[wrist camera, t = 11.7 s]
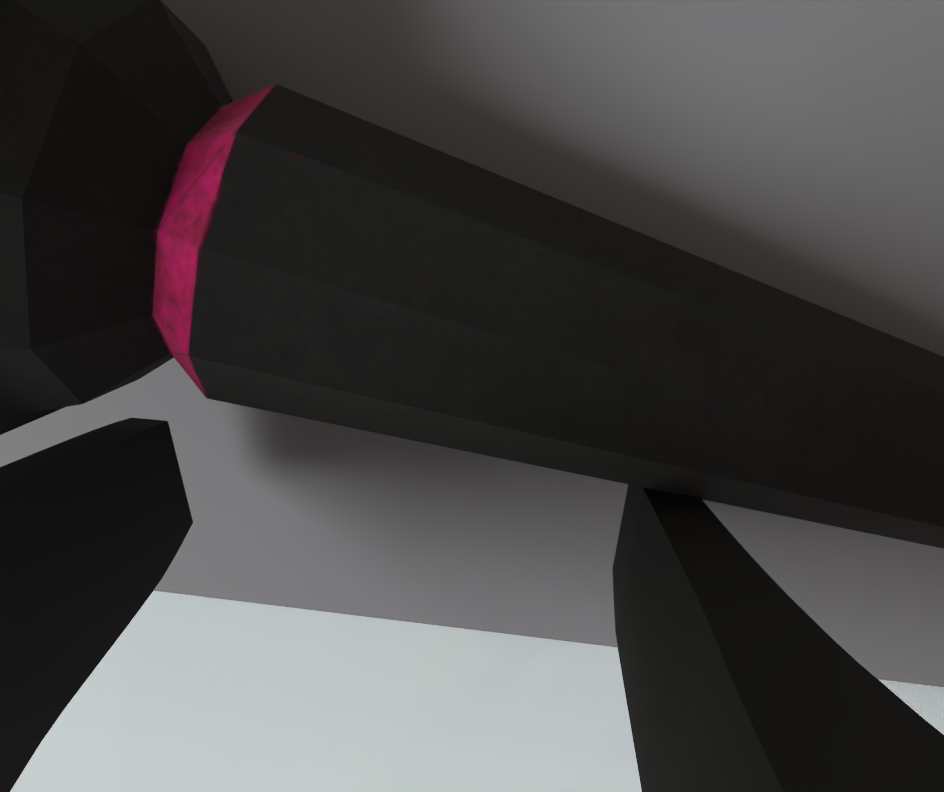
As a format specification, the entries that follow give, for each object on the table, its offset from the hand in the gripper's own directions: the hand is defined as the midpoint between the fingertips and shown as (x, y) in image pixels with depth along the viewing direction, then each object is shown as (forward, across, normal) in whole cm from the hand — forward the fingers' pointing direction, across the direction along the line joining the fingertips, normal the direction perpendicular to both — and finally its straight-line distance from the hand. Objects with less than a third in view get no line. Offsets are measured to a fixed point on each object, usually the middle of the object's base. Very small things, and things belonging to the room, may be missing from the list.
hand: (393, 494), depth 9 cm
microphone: (+2, -3, -2) cm, 4 cm away
